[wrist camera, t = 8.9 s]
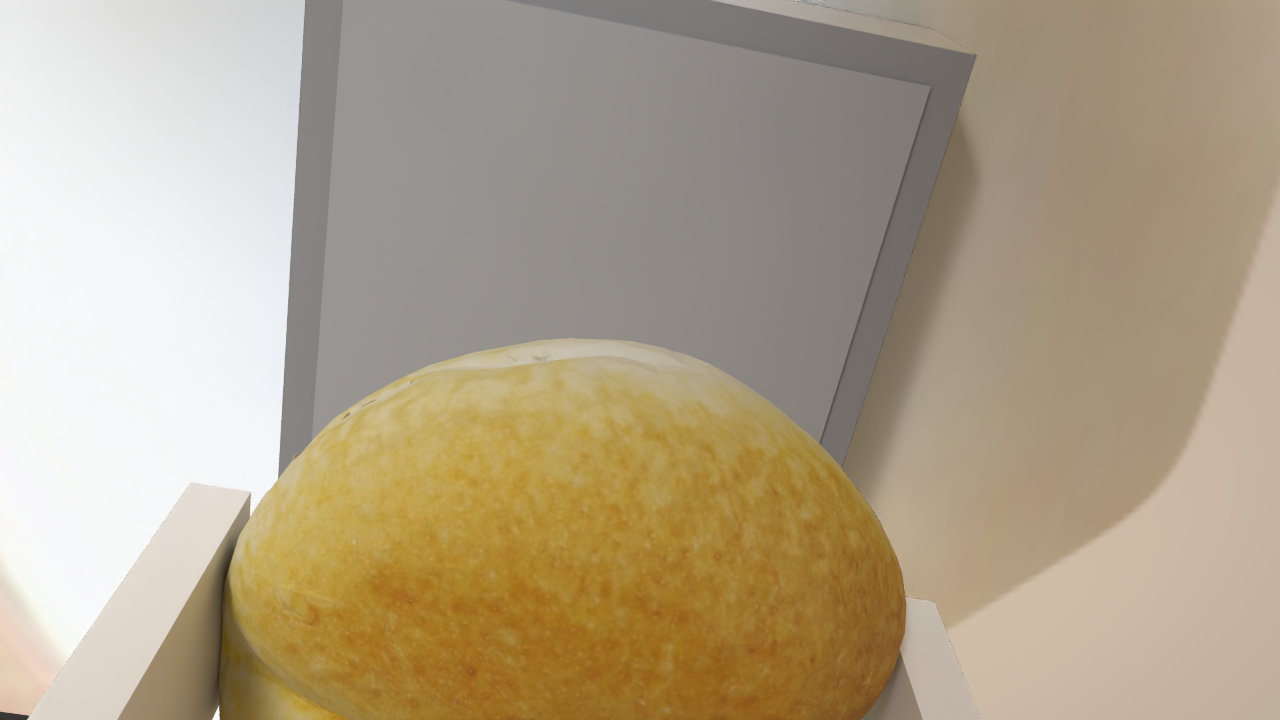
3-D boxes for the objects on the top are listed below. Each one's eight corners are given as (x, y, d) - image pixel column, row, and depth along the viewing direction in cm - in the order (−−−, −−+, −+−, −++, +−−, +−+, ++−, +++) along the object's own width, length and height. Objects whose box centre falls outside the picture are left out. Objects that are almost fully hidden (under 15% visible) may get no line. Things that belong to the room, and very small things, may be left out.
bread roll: (962, 396, 13) (1081, 601, 10) (737, 870, 17) (763, 1146, 13) (302, 222, 12) (163, 379, 9) (217, 767, 16) (95, 1034, 12)
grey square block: (313, 429, 30) (275, 500, 27) (351, -93, 24) (308, -82, 21) (787, 506, 32) (805, 583, 28) (934, 29, 26) (978, 56, 22)
